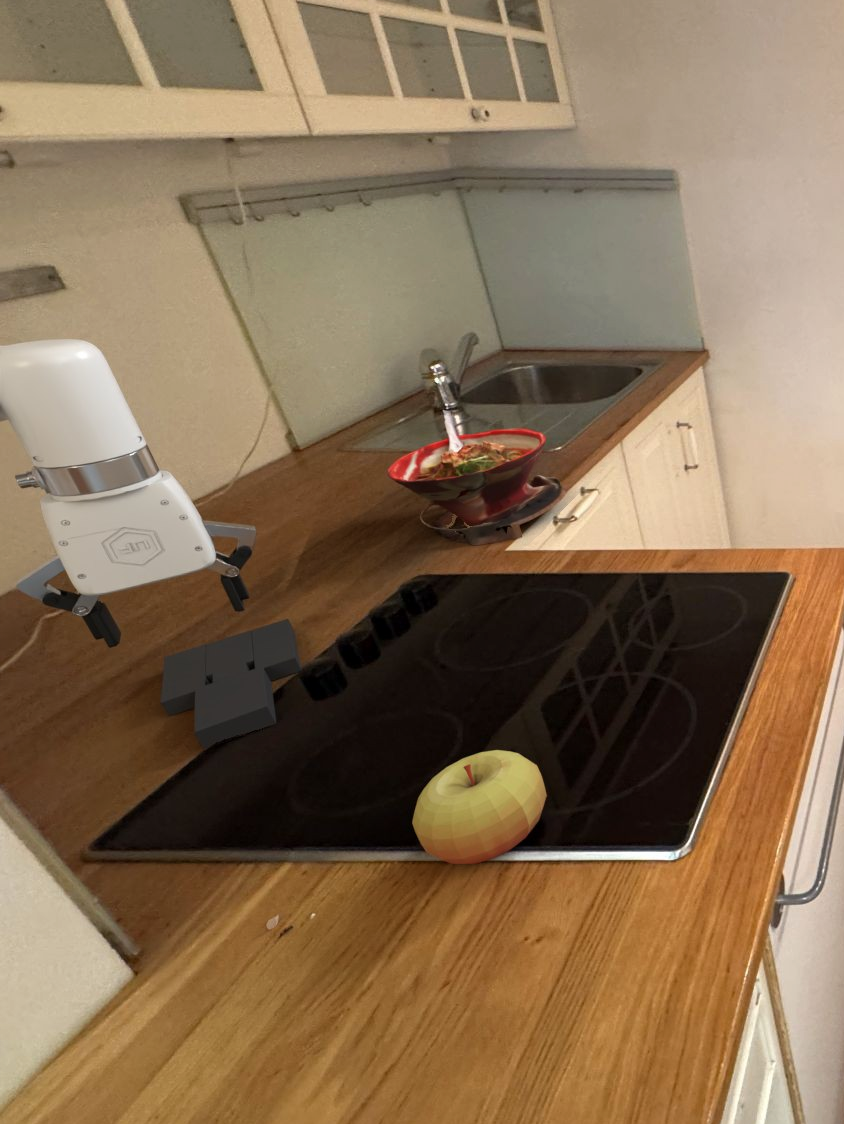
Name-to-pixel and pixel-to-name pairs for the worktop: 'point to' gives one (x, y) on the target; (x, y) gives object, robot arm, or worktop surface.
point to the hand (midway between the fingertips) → (180, 623)
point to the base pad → (228, 662)
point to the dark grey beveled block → (233, 704)
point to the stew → (480, 481)
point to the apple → (479, 807)
